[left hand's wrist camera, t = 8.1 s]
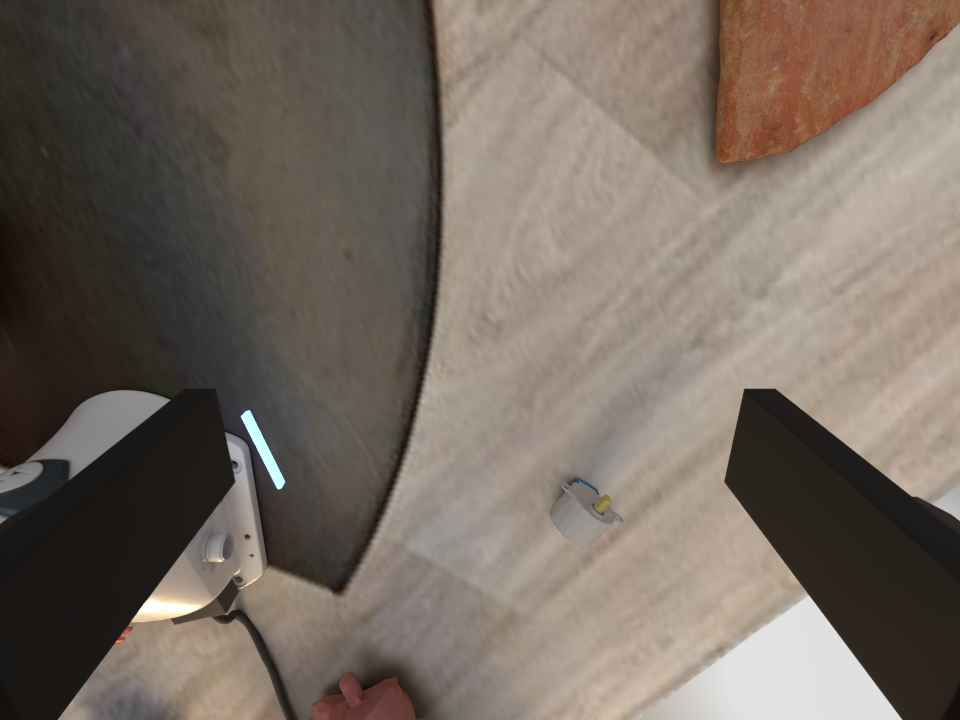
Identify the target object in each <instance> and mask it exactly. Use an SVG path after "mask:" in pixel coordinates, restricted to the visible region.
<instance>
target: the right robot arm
mask: <svg viewBox="0 0 960 720" xmlns="http://www.w3.org/2000/svg"><path fill="white" fill-rule="evenodd" d="M169 401H170V399H167V398H164V397H162V396H159V395H156V394H152V393H148V392H142V391H134V390H118V391H110V392H106V393H102V394H99V395H96V396H94V397H92V398H90V399H88V400H86V401H85V402H83V403H82V404H81V405H79V406H78V407H77V408H76V409H75V410H74V412H73V413H72V414H71V416H70V417H69V419H68V420H67V421H66V423H65V424H64V425H63V426H62V428H61V429H60V430H59V431H58V432H57V433H56V434H55V435H54V436H53V437H52V438H51V439H50V440H49V441H48V442H47V443H46V444H45V445H44V446H43V447H42V448H41V449H40V450H39V451H37V452H36V453H35V454H34V455H33V456H32V457H30V458H29V459H28V460H27V461H26V462H24V463H22V464H20V465H17V466H15V467H13V468H11V469H9V470H7V471H5V472H3V473H2V474H0V523H2V522H3V521H4V520H6V519H7V518H8V517H10V516H11V515H13V514H15V513H17V512H19V511H21V510H23V509H25V508H27V507H29V506H30V505H32V504H34V503H36V502H38V501H40V500H42V499H46V498H47V497H49V496H50V495H51V494H52V493H54V492H55V491H56V490H57V489H59V488H60V487H61V486H62V485H64V484H65V483H66V482H68V481H69V480H70V479H71V478H73V477H74V476H75V475H76V474H78V473H79V472H80V471H81V470H83V469H84V468H85V467H87V466H88V465H89V464H90V463H92V462H93V461H94V460H95V459H97V458H98V457H99V456H100V455H102V454H103V453H104V452H105V451H107V450H108V449H109V448H111V447H112V446H113V445H114V444H116V443H117V442H118V441H119V440H121V439H122V438H123V437H124V436H126V435H127V434H128V433H130V432H131V431H132V430H133V429H135V428H136V427H137V426H138V425H140V424H141V423H142V422H143V421H145V420H146V419H147V418H149V417H150V416H151V415H152V414H154V413H155V412H156V411H157V410H159V409H160V408H161V407H162V406H164V405H165V404H166V403H168V402H169ZM241 417H242V419H243V421H244V423H245V425H246V427H247V429H248V431H249V433H250V435H251V437H252V439H253V441H254V443H255V445H256V447H257V449H258V451H259V453H260V455H261V457H262V459H263V461H264V463H265V465H266V467H267V469H268V471H269V473H270V475H271V477H272V479H273V481H274V483H275V485H276V487H277V489H281V488H282V486H283V484H284V483H285V481H284V479H283V477H282V475H281V473H280V471H279V469H278V467H277V465H276V463H275V461H274V459H273V457H272V455H271V453H270V451H269V449H268V447H267V445H266V443H265V441H264V439H263V437H262V434H261V432H260V430H259V428H258V426H257V424H256V422H255V420H254V418H253V416H252V414H251V412H250V410H249V411H246V412H245V413H244V414H243V415H242V416H241ZM225 435H226V439H227V444H228V449H229V453H230V458H231V462H232V467H233V472H234V476H235V481H236V482H235V483H234V485H233V486H232V487H231V489H230V490H229V491H228V493H227V494H226V495H225V497H224V498H223V499H222V501H221V502H220V503H219V505H218V506H217V507H216V509H215V510H214V511H213V513H212V514H211V515H210V517H209V518H208V519H207V521H206V522H205V523H204V525H203V526H202V527H201V529H200V530H199V531H198V533H197V534H196V535H195V537H194V538H193V539H192V541H191V542H190V543H189V545H188V546H187V547H186V549H185V550H184V552H183V553H182V554H181V556H180V557H179V558H178V560H177V561H176V562H175V564H174V565H173V566H172V568H171V569H170V570H169V572H168V573H167V574H166V576H165V577H164V578H163V580H162V581H161V582H160V584H159V585H158V586H157V588H156V589H155V590H154V592H153V593H152V594H151V596H150V597H149V598H148V600H147V601H146V602H145V604H144V605H143V606H142V608H141V609H140V610H139V612H138V613H137V614H136V616H135V617H134V618H133V620H132V621H131V622H147V621H157V620H164V619H170V618H171V620H172V621H173V623H174V624H175V625H176V624H181V623H185V622H190V621H195V620H199V619H204V618H209V617H212V618H213V619H214V620H216V621H217V622H219V623H221V624H229V623H230V622H231V621H232V620H233V619H237V620H239V621H240V622H241V623H242V624H243V625H244V626H245V627H246V628H247V630H248V631H249V633H250V635H251V637H252V639H253V641H254V643H255V645H256V647H257V650H258V652H259V654H260V656H261V658H262V660H263V662H264V664H265V666H266V668H267V670H268V673H269V675H270V678H271V680H272V683H273V686H274V689H275V692H276V695H277V698H278V701H279V703H280V706H281V708H282V711H283V713H284V716H285V718H286V720H295V719H294V717H293V714H292V712H291V709H290V707H289V704H288V702H287V699H286V696H285V694H284V690H283V687H282V684H281V681H280V678H279V675H278V673H277V670H276V668H275V666H274V664H273V662H272V660H271V658H270V656H269V653H268V651H267V649H266V647H265V645H264V642H263V640H262V638H261V636H260V634H259V632H258V631H257V629H256V628H255V626H254V625H253V624H252V622H251V621H250V620H249V618H248V617H247V616H246V615H245V614H244V613H243V612H241V611H238V610H233V611H231V612H230V613H229V614H228V615H224V614H226V613H227V612H228V610H229V608H230V606H231V605H232V603H233V601H234V599H235V597H236V596H237V594H238V592H239V590H238V589H240V588H243V587H245V586H247V585H249V584H251V583H252V582H254V581H255V580H257V579H258V578H259V577H260V576H261V575H262V574H263V573H264V571H265V570H266V569H267V558H266V551H265V545H264V539H263V532H262V526H261V520H260V514H259V507H258V501H257V495H256V488H255V482H254V476H253V469H252V463H251V457H250V451H249V447H248V445H247V444H246V442H245V441H243V440H242V439H240V438H239V437H237V436H234V435H232V434H229V433H227V432H225ZM232 460H233V461H236V462H237V463H238V464H235V463H233V461H232ZM132 629H133V627H130V626H128V627H127V628H126V629H125V630H124V632H123V633H122V634H121V635H123V634H125V633H128V632H130V631H132ZM124 640H125V638H124V637H119V638H118V640H117V641H116V642H115V643H117V642H121V641H124Z"/></svg>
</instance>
